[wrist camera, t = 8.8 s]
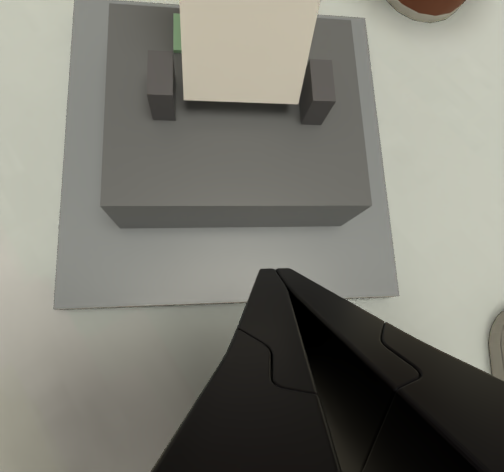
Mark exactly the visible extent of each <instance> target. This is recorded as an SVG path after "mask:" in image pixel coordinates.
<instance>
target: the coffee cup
mask: <svg viewBox="0 0 504 472" xmlns="http://www.w3.org/2000/svg"><path fill="white" fill-rule="evenodd" d="M387 1H388V2H389V3H390V4H391V5H392V6H393V7H394V8H395V9H396V10H397V11H398V12H399V13H401V14H403V15H405V16H407V17H409V18H410V19H412V20H416V21H422V22H428V23H432V22H437V21H442V20H445V19H447V18H448V17H449V16H451V15H452V14H453V13H455V12H456V11H457V9H458V8H459V7H460V6H461V5H462V4H463V3H464V2H465V1H466V0H387Z"/></svg>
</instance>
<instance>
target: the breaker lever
mask: <svg viewBox="0 0 504 472" xmlns="http://www.w3.org/2000/svg"><path fill="white" fill-rule="evenodd" d="M179 4H180V27H181V50H182V72H183V95H184V100H193V101H220V102H247V103H275V104H298V103H299V99H300V94H301V89H302V85H303V80H304V75H305V70H306V66H307V61H308V56H309V52H310V47H311V42H312V38H313V33H314V28H315V24H316V19H317V14H318V9H319V5H320V0H179Z"/></svg>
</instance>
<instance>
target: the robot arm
mask: <svg viewBox="0 0 504 472" xmlns="http://www.w3.org/2000/svg"><path fill="white" fill-rule="evenodd" d="M151 472H504V381H503V380H501V379H499V378H497V377H495V376H493V375H490V374H488V373H486V372H484V371H482V370H480V369H478V368H476V367H474V366H472V365H470V364H468V363H465V362H463V361H461V360H459V359H457V358H455V357H453V356H451V355H449V354H447V353H445V352H442V351H440V350H438V349H436V348H434V347H432V346H430V345H428V344H426V343H424V342H422V341H420V340H418V339H416V338H415V337H413V336H411V335H409V334H407V333H405V332H403V331H402V330H400V329H398V328H396V327H394V326H393V325H391V324H389V323H387V322H385V323H384V321H383V320H381V319H379V318H377V317H376V316H374V315H372V314H370V313H369V312H367V311H365V310H363V309H361V308H360V307H358V306H356V305H354V304H353V303H351V302H349V301H347V300H346V299H344V298H342V297H340V296H338V295H337V294H335V293H333V292H331V291H330V290H328V289H326V288H324V287H323V286H321V285H319V284H317V283H315V282H314V281H312V280H310V279H308V278H307V277H305V276H303V275H301V274H299V273H298V272H296V271H294V270H292V269H291V268H277V269H273V268H266V269H260V270H259V272H258V275H257V277H256V280H255V282H254V285H253V288H252V290H251V293H250V295H249V298H248V301H247V303H246V306H245V308H244V311H243V314H242V316H241V319H240V321H239V324H238V327H237V329H236V331H235V333H234V336H233V339H232V341H231V343H230V345H229V348H228V350H227V352H226V354H225V356H224V357H223V359H222V361H221V362H220V364H219V366H218V368H217V369H216V371H215V372H214V374H213V375H212V377H211V378H210V380H209V382H208V383H207V385H206V386H205V388H204V389H203V391H202V393H201V394H200V396H199V397H198V399H197V400H196V402H195V403H194V405H193V407H192V408H191V410H190V411H189V413H188V414H187V416H186V417H185V419H184V421H183V422H182V424H181V425H180V427H179V428H178V430H177V431H176V433H175V435H174V436H173V438H172V439H171V441H170V442H169V444H168V445H167V447H166V449H165V450H164V452H163V453H162V455H161V456H160V458H159V459H158V461H157V463H156V464H155V466H154V467H153V469H152V470H151Z"/></svg>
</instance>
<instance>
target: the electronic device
mask: <svg viewBox="0 0 504 472" xmlns="http://www.w3.org/2000/svg"><path fill="white" fill-rule="evenodd" d="M489 351H490V360H491V369H492V375H493V376H495V377H497V378H499V379H501V380H503V381H504V311H502V312H501V313H500V314H499V315H498V316H497V318H496V319H495V321H494V323H493V325H492V328H491V331H490V336H489Z"/></svg>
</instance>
